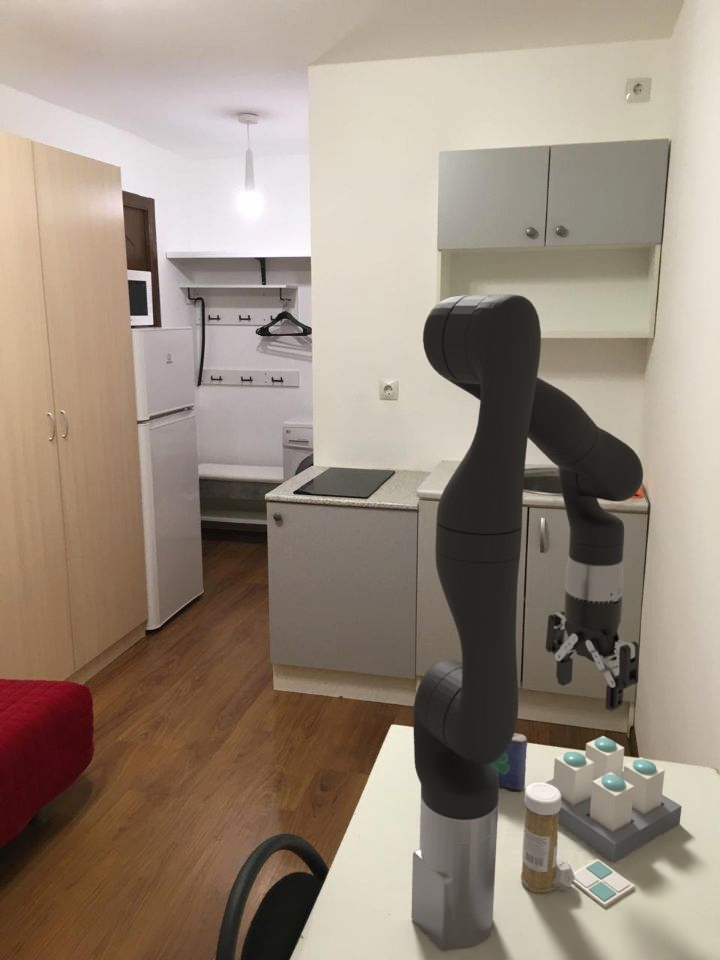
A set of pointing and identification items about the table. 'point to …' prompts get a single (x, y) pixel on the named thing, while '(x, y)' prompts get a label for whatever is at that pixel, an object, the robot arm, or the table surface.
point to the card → (601, 882)
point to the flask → (512, 765)
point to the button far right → (645, 784)
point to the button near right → (611, 802)
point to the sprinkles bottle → (540, 836)
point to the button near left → (573, 777)
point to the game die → (563, 875)
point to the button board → (625, 838)
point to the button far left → (605, 757)
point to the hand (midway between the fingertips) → (588, 695)
